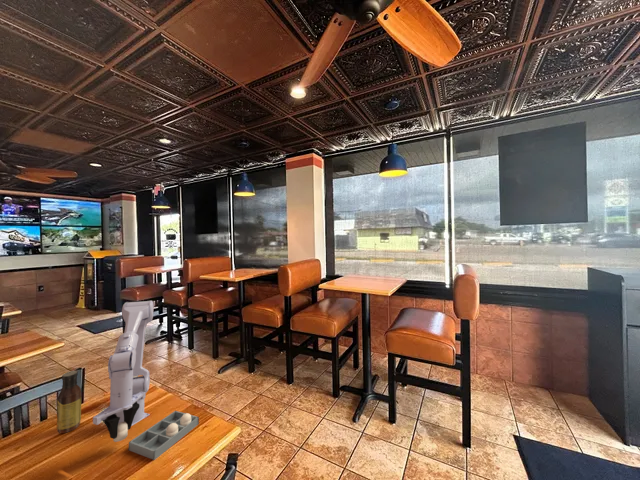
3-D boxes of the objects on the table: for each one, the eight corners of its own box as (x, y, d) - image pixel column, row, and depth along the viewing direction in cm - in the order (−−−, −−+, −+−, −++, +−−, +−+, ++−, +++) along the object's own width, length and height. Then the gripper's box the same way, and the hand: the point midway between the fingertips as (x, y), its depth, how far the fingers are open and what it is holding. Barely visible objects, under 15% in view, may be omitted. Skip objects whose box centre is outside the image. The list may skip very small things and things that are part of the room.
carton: (128, 451, 81) (128, 442, 81) (175, 418, 97) (175, 410, 97) (154, 462, 77) (154, 451, 77) (198, 425, 93) (198, 417, 93)
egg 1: (110, 440, 81) (111, 425, 81) (122, 432, 84) (123, 418, 84) (118, 443, 79) (118, 427, 79) (130, 435, 83) (130, 420, 83)
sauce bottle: (63, 424, 94) (65, 369, 94) (84, 421, 96) (86, 367, 96) (51, 437, 87) (53, 378, 88) (73, 432, 89) (75, 375, 90)
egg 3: (177, 429, 90) (177, 416, 90) (185, 423, 93) (186, 410, 94) (185, 431, 89) (185, 418, 89) (193, 425, 92) (193, 412, 92)
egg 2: (163, 440, 85) (163, 426, 85) (172, 433, 88) (173, 419, 88) (171, 443, 84) (171, 428, 84) (180, 435, 87) (180, 421, 87)
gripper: (104, 405, 74) (102, 453, 73) (152, 381, 88) (151, 421, 87) (89, 400, 76) (87, 446, 76) (137, 377, 90) (136, 416, 90)
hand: (120, 432), depth 82 cm, fingers closed on egg 1, 4 cm apart
